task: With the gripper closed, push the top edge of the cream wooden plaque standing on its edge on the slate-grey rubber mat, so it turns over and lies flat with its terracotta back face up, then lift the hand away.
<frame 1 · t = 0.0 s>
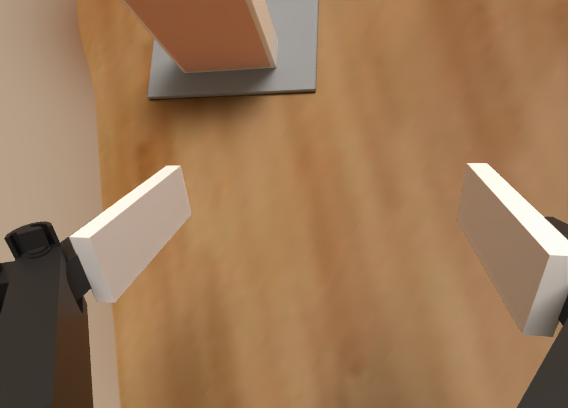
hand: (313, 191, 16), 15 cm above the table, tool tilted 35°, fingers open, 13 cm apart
rubber mat: (235, 9, 36), on the table
wooden plaque: (230, 57, 35), resting on rubber mat
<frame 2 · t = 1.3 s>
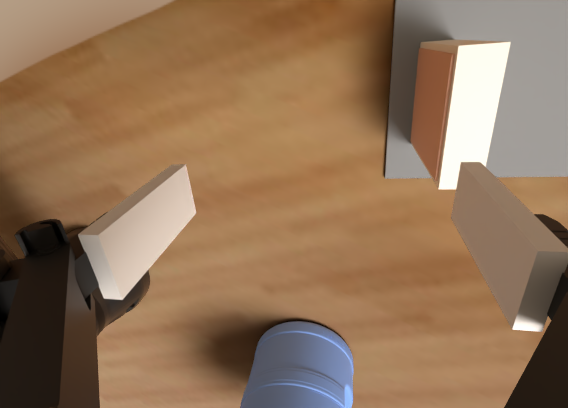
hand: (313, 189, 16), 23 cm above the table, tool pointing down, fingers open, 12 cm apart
water jug: (304, 352, 55), on the table
rubber mat: (494, 91, 33), on the table
wooden plaque: (431, 95, 34), resting on rubber mat
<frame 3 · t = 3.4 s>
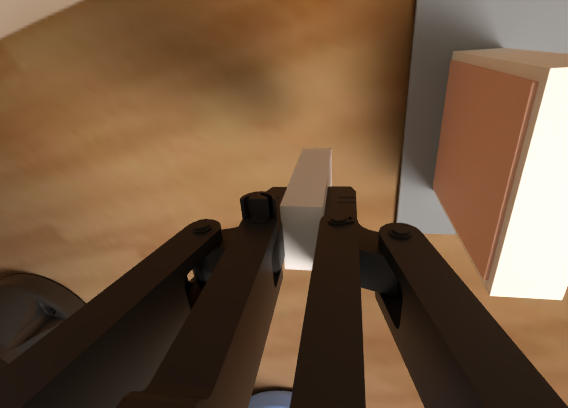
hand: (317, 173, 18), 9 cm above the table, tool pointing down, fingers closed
rubber mat: (556, 122, 23), on the table
wooden plaque: (464, 126, 24), resting on rubber mat
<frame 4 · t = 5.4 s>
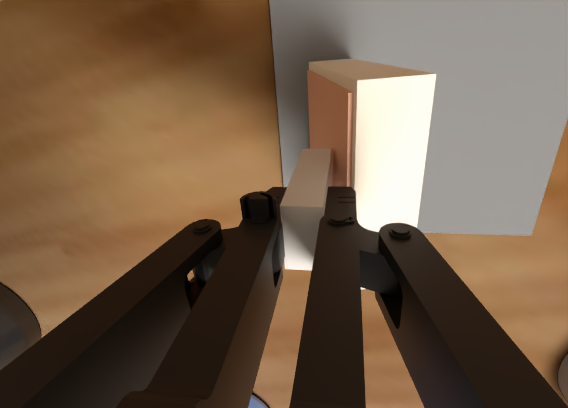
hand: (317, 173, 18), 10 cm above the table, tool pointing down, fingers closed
rubber mat: (410, 126, 25), on the table
wooden plaque: (330, 131, 25), point 1 cm above the table, tilted 14°, touching gripper, rubber mat
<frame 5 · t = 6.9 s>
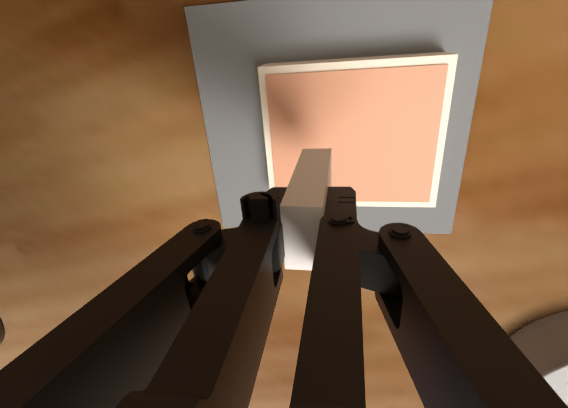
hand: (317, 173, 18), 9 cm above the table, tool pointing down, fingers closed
rubber mat: (329, 128, 26), on the table
wooden plaque: (269, 136, 25), point 2 cm above the table, tilted 90°, touching rubber mat
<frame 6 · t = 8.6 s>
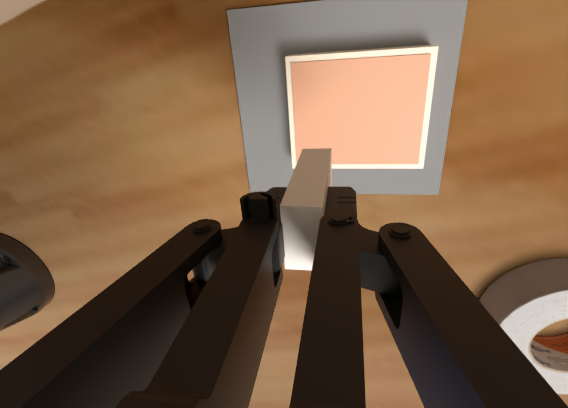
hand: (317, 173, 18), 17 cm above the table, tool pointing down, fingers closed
rubber mat: (339, 107, 32), on the table
wooden plaque: (291, 113, 31), point 2 cm above the table, tilted 90°, touching rubber mat
tape roll: (548, 309, 39), on the table
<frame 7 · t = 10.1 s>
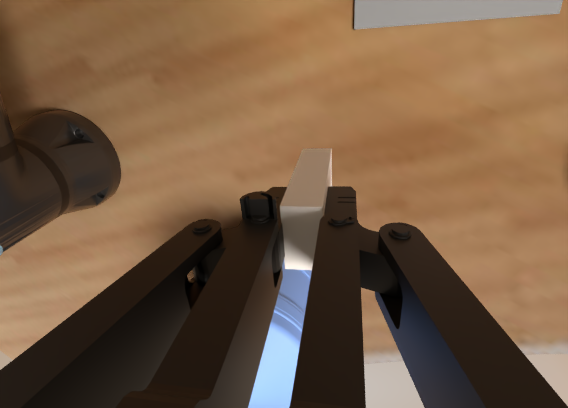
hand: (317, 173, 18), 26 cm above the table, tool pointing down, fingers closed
water jug: (278, 252, 53), on the table
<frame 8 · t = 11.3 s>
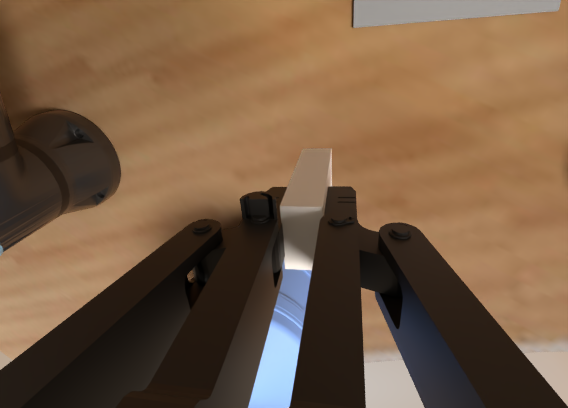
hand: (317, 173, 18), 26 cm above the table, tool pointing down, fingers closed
water jug: (279, 251, 53), on the table
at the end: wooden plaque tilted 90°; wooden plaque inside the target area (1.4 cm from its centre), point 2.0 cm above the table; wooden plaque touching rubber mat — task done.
